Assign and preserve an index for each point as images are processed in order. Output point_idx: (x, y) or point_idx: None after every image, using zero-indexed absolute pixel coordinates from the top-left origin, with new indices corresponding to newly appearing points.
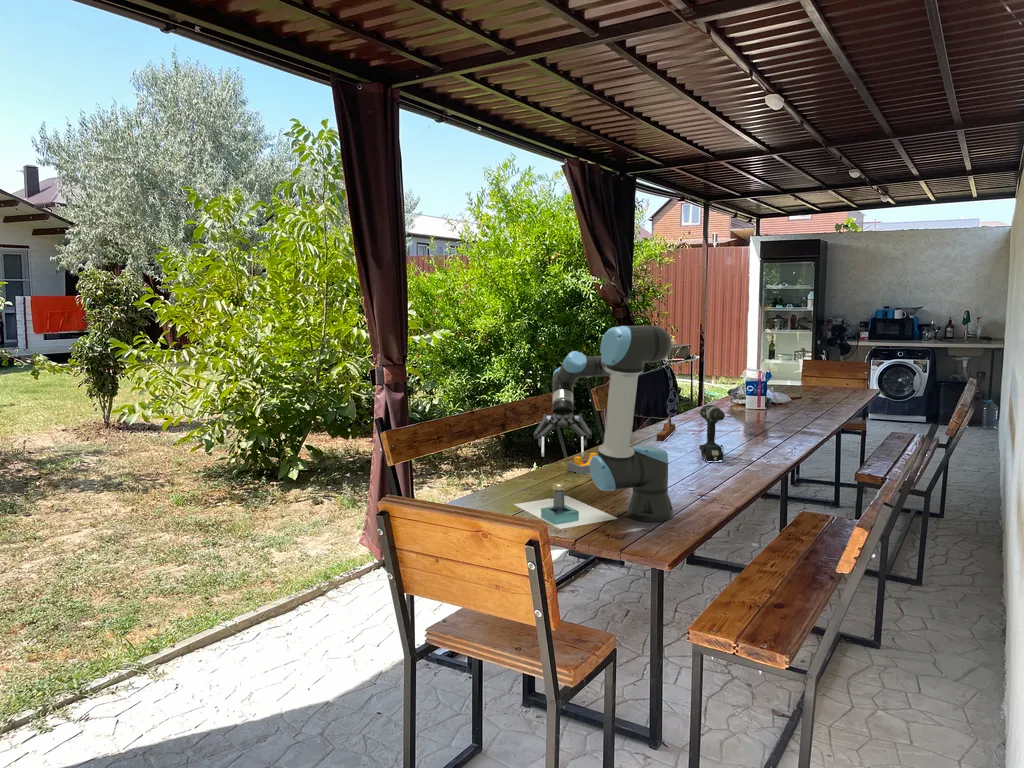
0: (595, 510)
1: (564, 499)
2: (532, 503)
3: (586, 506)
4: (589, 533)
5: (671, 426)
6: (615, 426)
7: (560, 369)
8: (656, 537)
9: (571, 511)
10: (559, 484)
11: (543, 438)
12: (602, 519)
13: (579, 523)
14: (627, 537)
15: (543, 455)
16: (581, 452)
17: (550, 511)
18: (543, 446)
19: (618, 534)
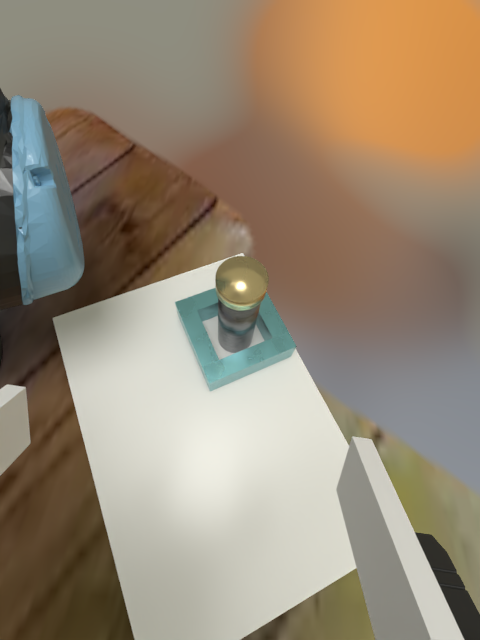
0: (92, 411)
1: (175, 610)
2: (323, 547)
3: (109, 470)
4: (170, 241)
5: None
6: None
7: None
8: None
9: (198, 302)
10: (238, 275)
11: (422, 600)
12: (104, 313)
13: (182, 287)
14: (87, 207)
15: (343, 475)
16: (25, 390)
17: (266, 309)
18: (373, 486)
19: (100, 226)
